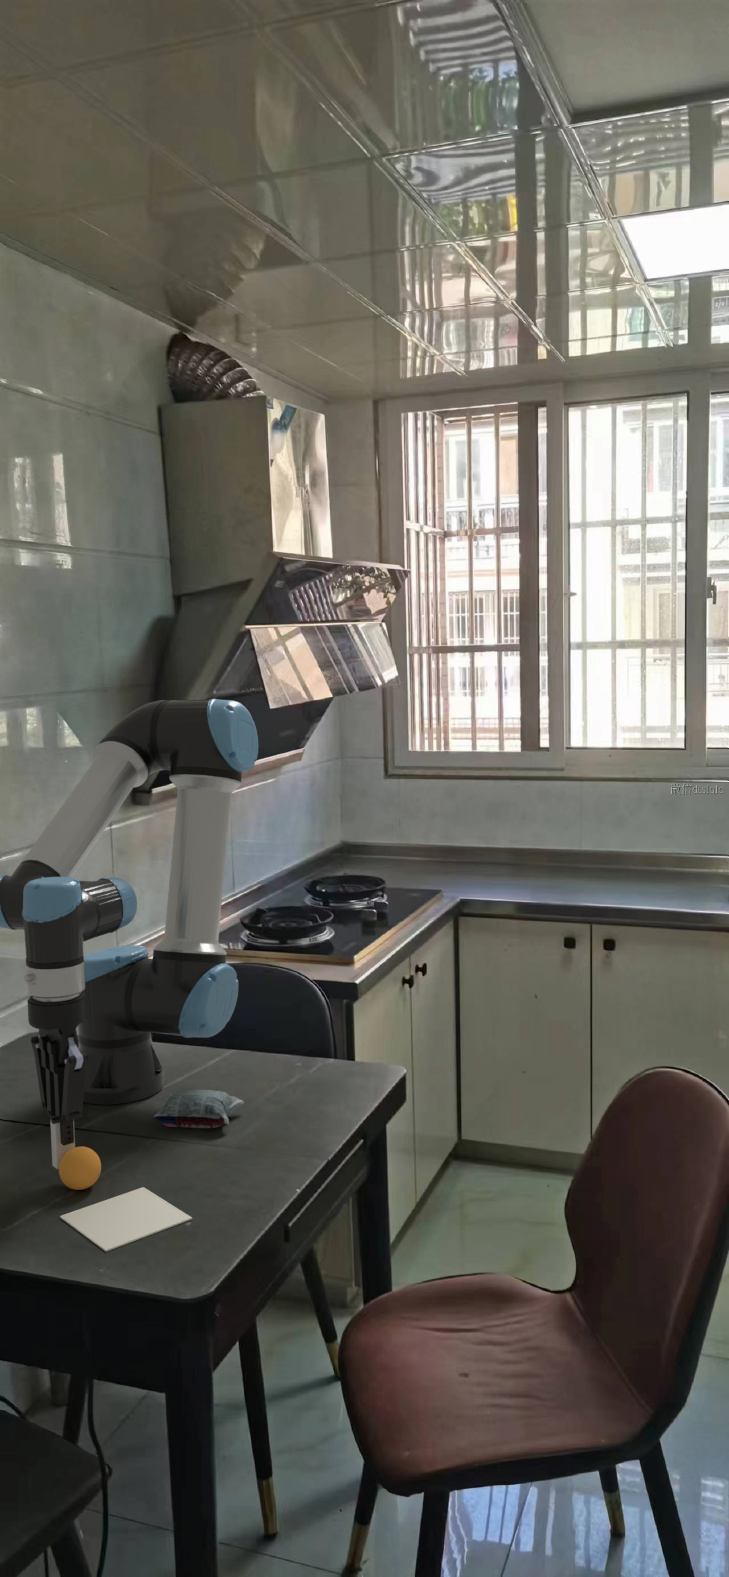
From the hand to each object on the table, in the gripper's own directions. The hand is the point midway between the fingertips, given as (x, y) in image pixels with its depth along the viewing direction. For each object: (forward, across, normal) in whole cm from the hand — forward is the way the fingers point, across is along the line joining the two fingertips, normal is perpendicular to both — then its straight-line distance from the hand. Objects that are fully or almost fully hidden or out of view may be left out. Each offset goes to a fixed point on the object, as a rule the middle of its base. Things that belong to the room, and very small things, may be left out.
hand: (64, 1164), depth 160 cm
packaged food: (+2, -6, +25) cm, 25 cm away
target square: (+2, +16, +1) cm, 16 cm away
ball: (0, +4, +1) cm, 4 cm away
